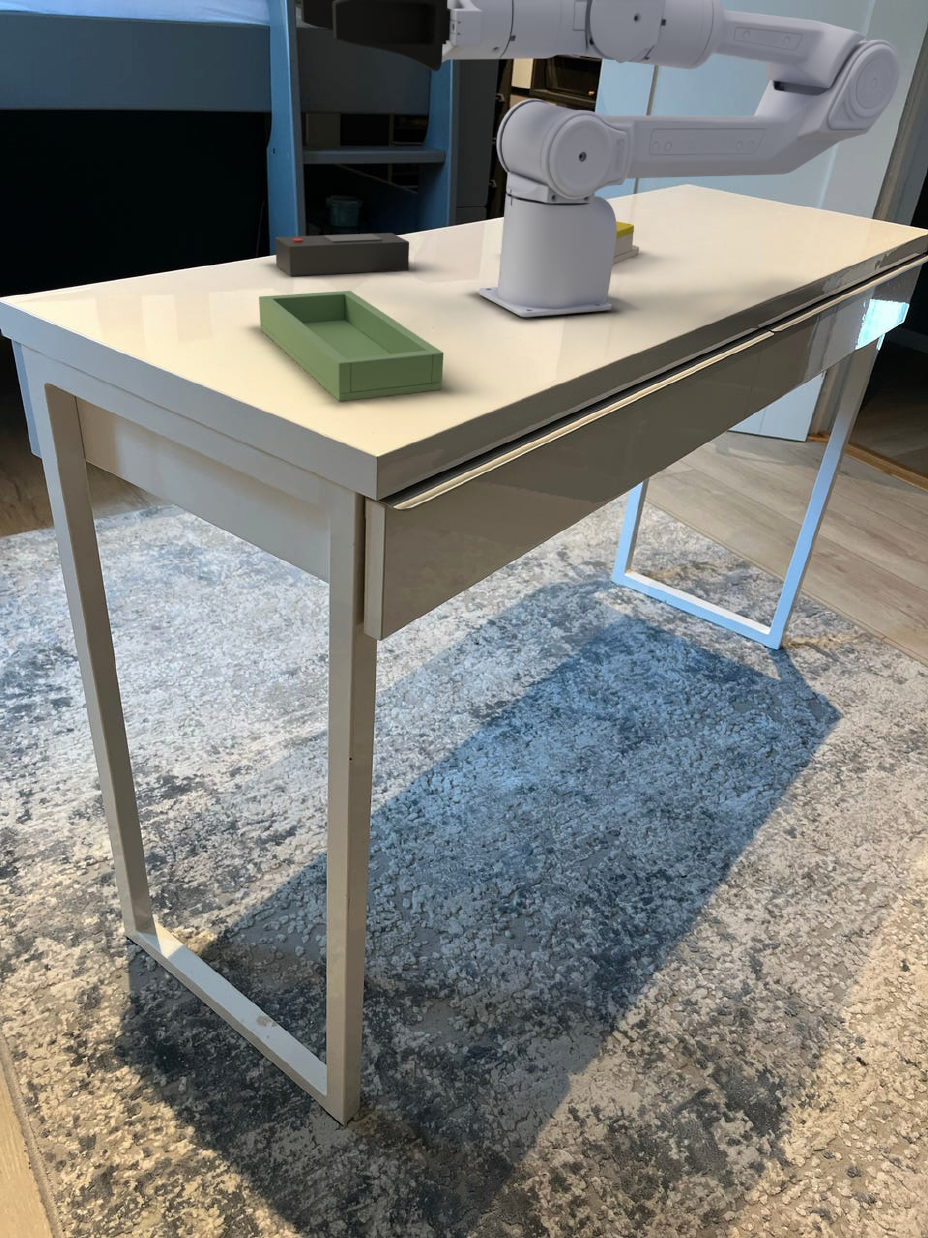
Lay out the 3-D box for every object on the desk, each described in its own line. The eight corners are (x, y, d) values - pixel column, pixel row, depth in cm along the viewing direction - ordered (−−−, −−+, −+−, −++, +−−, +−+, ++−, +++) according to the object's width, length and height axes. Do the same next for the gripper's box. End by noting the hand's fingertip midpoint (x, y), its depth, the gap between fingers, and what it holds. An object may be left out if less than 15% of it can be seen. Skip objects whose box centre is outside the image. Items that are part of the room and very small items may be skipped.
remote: (391, 260, 93) (392, 231, 91) (408, 269, 90) (409, 239, 88) (276, 265, 87) (274, 235, 86) (290, 276, 85) (289, 244, 83)
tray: (350, 322, 74) (350, 290, 72) (441, 389, 62) (443, 352, 61) (260, 329, 71) (258, 296, 69) (339, 401, 59) (339, 362, 58)
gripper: (459, -62, 71) (285, -68, 66) (546, -44, 61) (349, -51, 56) (454, 46, 75) (291, 46, 71) (535, 79, 65) (351, 82, 60)
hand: (317, 12), depth 64 cm, fingers open, 7 cm apart
